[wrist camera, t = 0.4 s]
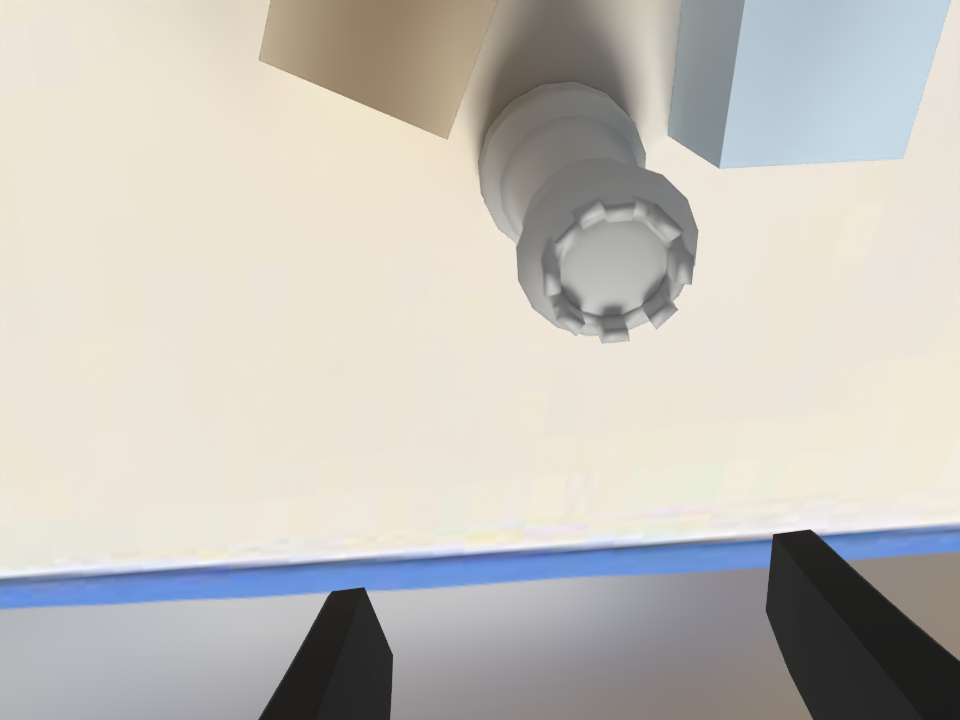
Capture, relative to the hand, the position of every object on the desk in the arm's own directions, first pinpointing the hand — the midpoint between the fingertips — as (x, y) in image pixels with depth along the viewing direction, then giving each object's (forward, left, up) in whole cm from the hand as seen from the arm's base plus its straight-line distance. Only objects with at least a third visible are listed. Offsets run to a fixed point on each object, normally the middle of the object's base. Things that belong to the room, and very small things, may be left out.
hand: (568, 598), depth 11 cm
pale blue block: (-5, -9, -10) cm, 14 cm away
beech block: (+4, -9, -10) cm, 14 cm away
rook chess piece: (0, -5, -10) cm, 12 cm away
